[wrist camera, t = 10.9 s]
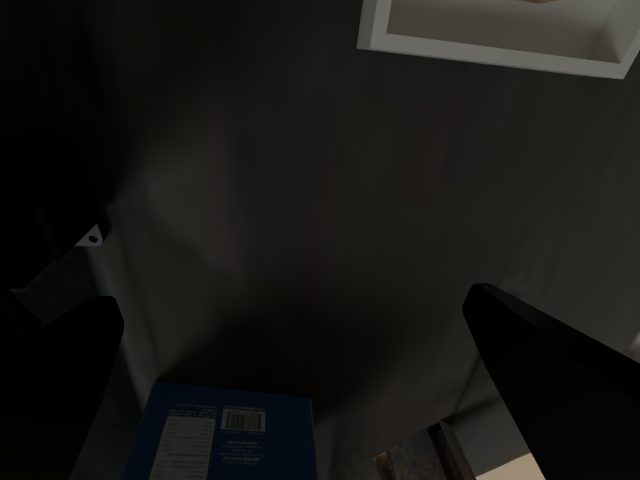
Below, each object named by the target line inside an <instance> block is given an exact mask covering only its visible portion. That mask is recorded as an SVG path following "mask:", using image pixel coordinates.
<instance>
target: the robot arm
mask: <svg viewBox="0 0 640 480" xmlns="http://www.w3.org/2000/svg"><path fill="white" fill-rule="evenodd" d="M59 142H62V143H63V144H64V145H65V146H66V149H63V148H62V147H61V146H60V145H59ZM101 219H102V217H101V213H100V210H99V207H98V204H97V201H96V198H95V195H94V192H93V189H92V186H91V183H90V180H89V179H88V178H87V177H86V175H85V172H84V169H83V166H82V163H81V160H80V157H79V154H78V150H77V147H76V145H75V143H74V141H73V140H72V139H71V138H69V137H67V136H65V135H57V134H41V133H25V132H9V131H0V480H68V479H69V477H70V475H71V472H72V470H73V468H74V465H75V463H76V461H77V458H78V456H79V454H80V451H81V449H82V447H83V444H84V442H85V440H86V437H87V435H88V432H89V430H90V428H91V425H92V423H93V421H94V418H95V416H96V414H97V411H98V409H99V407H100V404H101V402H102V399H103V396H104V394H105V391H106V388H107V385H108V381H109V378H110V375H111V371H112V368H113V365H114V361H115V358H116V355H117V351H118V348H119V345H120V342H121V338H122V335H123V331H124V320H123V317H122V314H121V312H120V309H119V307H118V304H117V301H116V299H115V298H114V297H112V296H94V297H91V298H89V299H87V300H85V301H84V302H82V303H81V304H79V305H78V306H76V307H74V308H73V309H71V310H70V311H68V312H67V313H65V314H63V315H62V316H60V317H59V318H57V319H56V320H54V321H52V322H51V323H49V324H48V325H46V326H45V327H43V328H41V329H40V327H41V324H42V322H41V321H40V320H39V318H38V317H37V316H36V315H35V314H31V313H30V312H29V311H28V310H27V309H26V308H25V307H24V305H23V304H22V303H21V302H20V301H19V300H18V298H17V297H16V296H15V295H14V294H13V293H12V292H11V290H10V289H19V288H25V287H26V286H27V285H28V284H29V283H30V282H31V281H32V280H33V279H34V278H35V277H36V276H37V275H38V274H39V273H40V272H41V271H42V270H43V269H45V268H46V267H47V266H48V265H49V264H50V263H51V262H52V261H53V260H60V259H61V258H62V257H63V256H65V255H66V254H67V253H68V252H69V251H70V250H71V249H72V248H73V247H74V246H99V245H101V244H102V243H103V242H104V241H105V239H106V236H105V233H104V230H103V226H102V223H101ZM93 236H95V237H97V238H98V239H95V238H93ZM462 311H463V315H464V317H465V320H466V322H467V324H468V327H469V329H470V332H471V334H472V336H473V339H474V341H475V344H476V346H477V348H478V351H479V353H480V356H481V358H482V360H483V362H484V364H485V367H486V369H487V370H488V372H489V374H490V376H491V378H492V380H493V382H494V384H495V386H496V388H497V389H498V391H499V393H500V395H501V397H502V399H503V401H504V403H505V404H506V406H507V408H508V410H509V412H510V414H511V416H512V418H513V419H514V421H515V423H516V425H517V427H518V429H519V431H520V432H521V434H522V436H523V438H524V440H525V442H526V444H527V446H528V447H529V449H530V451H531V453H532V455H533V457H534V459H535V461H536V462H537V464H538V466H539V468H540V470H541V472H542V474H543V475H544V477H545V479H546V480H640V363H638V362H636V361H634V360H632V359H630V358H629V357H627V356H625V355H623V354H621V353H619V352H617V351H615V350H613V349H612V348H610V347H608V346H606V345H604V344H602V343H600V342H598V341H597V340H595V339H593V338H591V337H589V336H587V335H585V334H583V333H581V332H580V331H578V330H576V329H574V328H572V327H570V326H568V325H566V324H565V323H563V322H561V321H559V320H557V319H555V318H553V317H551V316H550V315H548V314H546V313H544V312H542V311H540V310H538V309H536V308H534V307H533V306H531V305H529V304H527V303H525V302H523V301H521V300H519V299H518V298H516V297H514V296H512V295H510V294H508V293H506V292H504V291H502V290H501V289H499V288H497V287H495V286H493V285H491V284H488V283H479V284H474V285H472V286H471V288H470V290H469V292H468V294H467V297H466V299H465V301H464V303H463V307H462ZM39 329H40V330H39Z"/></svg>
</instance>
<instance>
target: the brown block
mask: <svg viewBox="0 0 640 480" xmlns="http://www.w3.org/2000/svg"><path fill="white" fill-rule="evenodd" d="M518 1H524V2H531V3H537V4H541V3H547V2H552V1H558V0H518Z"/></svg>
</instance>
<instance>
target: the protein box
mask: <svg viewBox="0 0 640 480" xmlns="http://www.w3.org/2000/svg"><path fill="white" fill-rule="evenodd" d="M119 480H319V478H318V467H317V457H316V447H315V437H314V426H313V416H312V405H311V398H310V397H302V396H292V395H283V394H274V393H265V392H255V391H246V390H237V389H227V388H218V387H209V386H200V385H190V384H181V383H171V382H162V381H156V382H154V384H153V387H152V390H151V392H150V395H149V398H148V400H147V403H146V406H145V409H144V412H143V415H142V417H141V420H140V423H139V426H138V429H137V431H136V434H135V437H134V440H133V443H132V445H131V448H130V451H129V454H128V456H127V459H126V462H125V465H124V467H123V470H122V473H121V476H120V479H119Z"/></svg>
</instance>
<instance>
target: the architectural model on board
mask: <svg viewBox="0 0 640 480" xmlns="http://www.w3.org/2000/svg"><path fill="white" fill-rule="evenodd" d="M439 424H440V426H441V428H442V429H441V430H439V431H438V432H436V433H434V434H432V435H430V433H429V431H428V429H427V428H426V429H424V430H423V431H421V432H419V433H417V434H415V435H414V436H412V437H410V438H408V439H407V440H405V441H403V442H401V443H400V444H398V445H396V446H394V447H393V448H391V449H389V450H387V451H385V452H383V453H382V454H380V455H378V456H376V457H374V458H373V459H374V463H375V467H376V471H377V475H378V480H476V478H475V476H474V474H473V472H472V469H471V467H470V465H469V463H468V461H467V459H466V457H465V454H464V452H463V450H462V448H461V446H460V444H459V442H458V439H457V437H456V435H455V433H454V431H453V429H452V427H451V425H449V424H447V423H445V422H443V421H441V420H440V421H439Z"/></svg>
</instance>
